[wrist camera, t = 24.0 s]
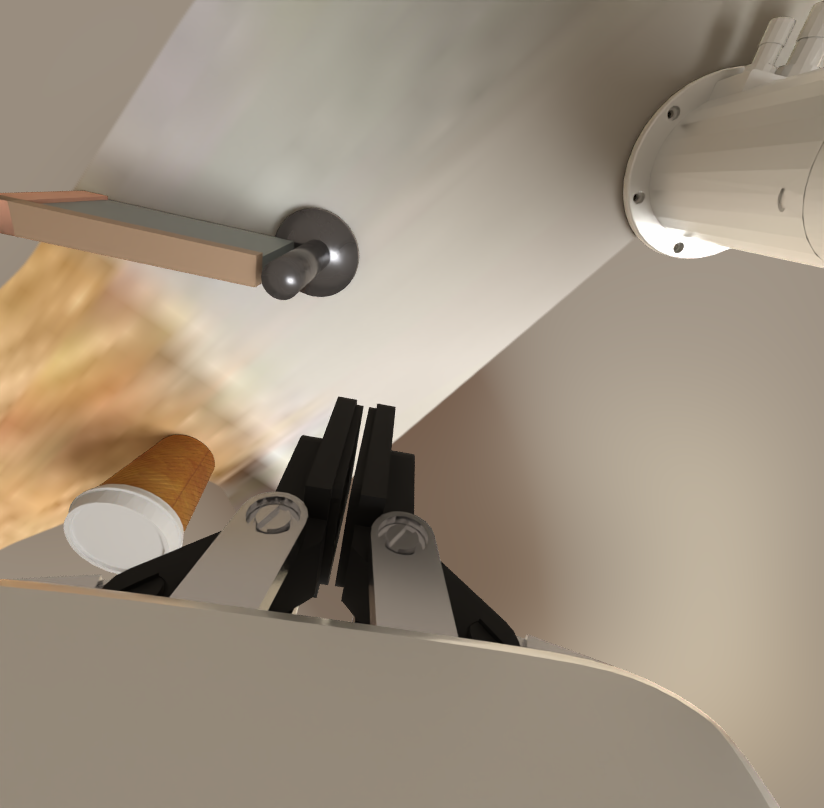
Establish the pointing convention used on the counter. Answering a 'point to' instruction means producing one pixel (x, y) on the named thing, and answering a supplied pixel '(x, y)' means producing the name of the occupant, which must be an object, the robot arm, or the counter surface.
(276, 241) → the bar
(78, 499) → the disposable coffee cup
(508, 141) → the counter surface
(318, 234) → the hinge post
